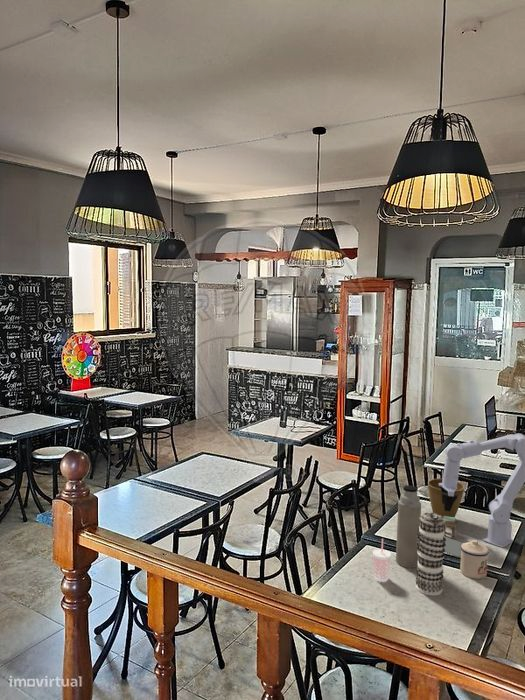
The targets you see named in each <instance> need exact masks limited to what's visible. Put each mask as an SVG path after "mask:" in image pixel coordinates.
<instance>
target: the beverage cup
mask: <svg viewBox="0 0 525 700" xmlns="http://www.w3.org/2000/svg"><path fill="white" fill-rule="evenodd" d="M372 555H373V578H374V580H375V581H376V582H379V583H385V582H387V581H388V580H389V571H390V564H391V563H390V562H391V557H392V553H391V552H390V551H389V550H386V549H384V538H381V548H378V549H377V548H376V549H374V550H373V551H372Z"/></svg>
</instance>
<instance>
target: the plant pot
mask: <svg viewBox="0 0 525 700" xmlns="http://www.w3.org/2000/svg"><path fill="white" fill-rule="evenodd" d="M442 480H443V478H432V479H429V480H428V482H427V485H428V486H427V489H428V494H429V495H428V496H429V502H430V506H431V510H432V513H437V514H439V515H441V516H442V518H443V516H447V517H454V518H456V515H457V513H458V510H459V507H460V505H461V502H462V499H463V494H464V490H465V486H464V485H463V484H462V483H460V482H457V490H456V491H455V492H454V495H457V499H456V500H455V502H454V503H453V506H452V508H451V511H450V512H449V511H445V510H444V504H443V503H442V492H441V488H440V486H439V483H442Z"/></svg>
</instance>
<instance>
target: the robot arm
mask: <svg viewBox="0 0 525 700" xmlns="http://www.w3.org/2000/svg"><path fill="white" fill-rule="evenodd" d="M503 448H505V449H507V450H510V451H516V453H517V456H518V459H519V461H518V462H517V464H516V466H515V468H514V469H513V470H512V471H513V472H512V473H511V475H510V477H509V478H508V480H507V481H506V484H505V485H504V487H503V489H502V491H501V492H500V493H499V494H498V495H496V497H495V498H494V499H493V500H491V501H490V502H489V504H488V510H489V512H490V514H489V516H488V530H487V537H485V538H484V539H483V542H486V543H489V544H491V545H494V546H497V547H501V548H505V547H507V545H509V544H511V543H513V542H514V539H512V529H513V527H512V526H513V525H512V521H511V520H510V519H511V512H512V510H513V505H514V501H515V499H516V497H517V496H518V494H519V492H520V491H521V489H522V488H523V485H524V484H525V434H523V433H519V432H517V433H514V434H507V435H504V436H503V435H502V436H500V437H496V438H492V439H489V440H485V441H482V442H479V441H478V440H473V439H469V441H468V442H463V443H460V442H458V443H457V445H456V444H449V445H448V446H447V447H446V449H445V455H446V457H445V462H444V468H443V474H442V479H443V480H442V483H439V486H440V488H441V492H442V503H443V504H444V510H445V511H449V512H450V511H451V508H452V506H453V503H454V502H455V500H456V499H457V495H454V492H455V491H456V490H457V482H458V481H459V474H460V468H461V465H460V464H461V461H462V460H463V459H468V458H470V457H471V458H472V457H477V456H481V454H483V452H485V451H491V450H496V449H503ZM458 483H459V482H458Z"/></svg>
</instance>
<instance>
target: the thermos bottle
mask: <svg viewBox="0 0 525 700" xmlns="http://www.w3.org/2000/svg"><path fill="white" fill-rule="evenodd" d="M402 488H403V491H402V493H401V494H400V497H399V500H398V502H397V521H396V523H397V524H396V525H397V527H396V530H397V531H396V544H395V545H396V548H395V550H396V551H395V562H396V563H397V565H399V566H401V567H405V568H410V569H411V568H417V567H416V566H417V565H418V556H419V555H418V553H417V550H418V548H417V539H418V538H417V529H418V528H419V526H420V517H421V516H422V503H421V502H420V500H421V499H420V496H419V495H418V487H416V486H415V485H414V486H413V485H403V487H402ZM419 537H420V536H419Z"/></svg>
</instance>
